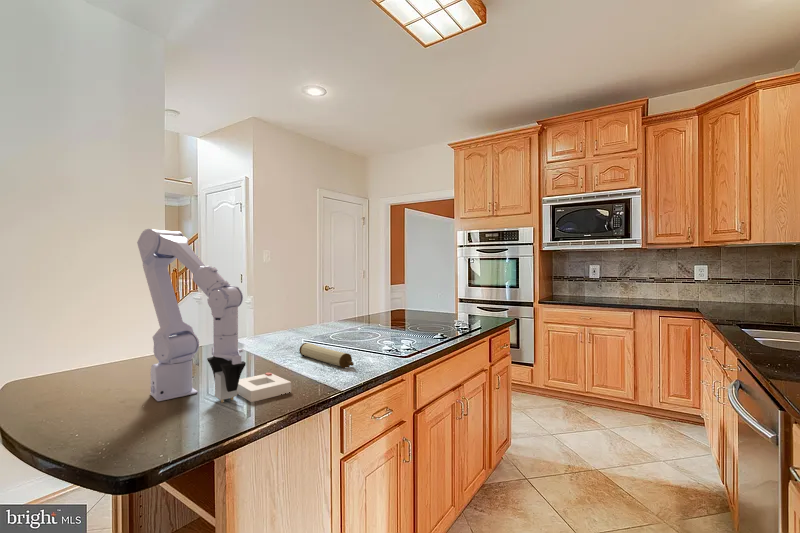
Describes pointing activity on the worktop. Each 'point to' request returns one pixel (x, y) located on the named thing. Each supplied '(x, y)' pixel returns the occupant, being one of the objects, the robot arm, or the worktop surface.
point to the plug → (222, 388)
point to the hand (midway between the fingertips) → (226, 387)
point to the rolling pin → (326, 355)
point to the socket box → (262, 387)
